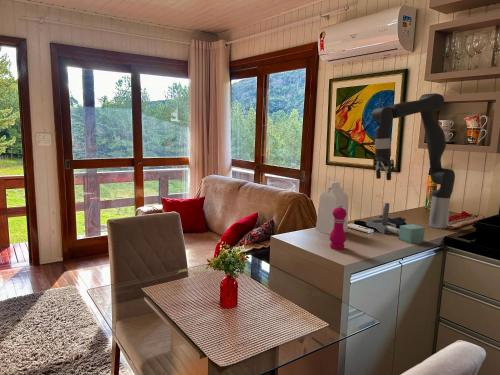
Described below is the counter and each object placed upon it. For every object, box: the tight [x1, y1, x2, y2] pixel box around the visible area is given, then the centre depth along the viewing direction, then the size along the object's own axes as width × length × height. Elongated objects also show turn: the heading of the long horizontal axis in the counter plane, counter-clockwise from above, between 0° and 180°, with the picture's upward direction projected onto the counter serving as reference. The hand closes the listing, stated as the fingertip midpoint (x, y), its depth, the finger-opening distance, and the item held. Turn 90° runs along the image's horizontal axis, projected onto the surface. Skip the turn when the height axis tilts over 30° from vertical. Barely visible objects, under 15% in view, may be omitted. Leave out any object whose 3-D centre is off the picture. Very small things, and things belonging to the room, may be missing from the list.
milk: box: [315, 181, 349, 235], centre depth 190 cm, size 12×12×26 cm
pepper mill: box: [329, 204, 347, 251], centre depth 164 cm, size 7×7×20 cm
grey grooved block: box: [365, 216, 396, 235], centre depth 197 cm, size 8×13×5 cm, turn 26°
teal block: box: [398, 223, 426, 244], centre depth 179 cm, size 9×7×7 cm
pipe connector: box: [378, 215, 408, 229], centre depth 205 cm, size 12×5×15 cm
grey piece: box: [378, 202, 400, 235], centre depth 192 cm, size 3×18×14 cm, turn 26°
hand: (383, 179), depth 187 cm, fingers open, 8 cm apart
